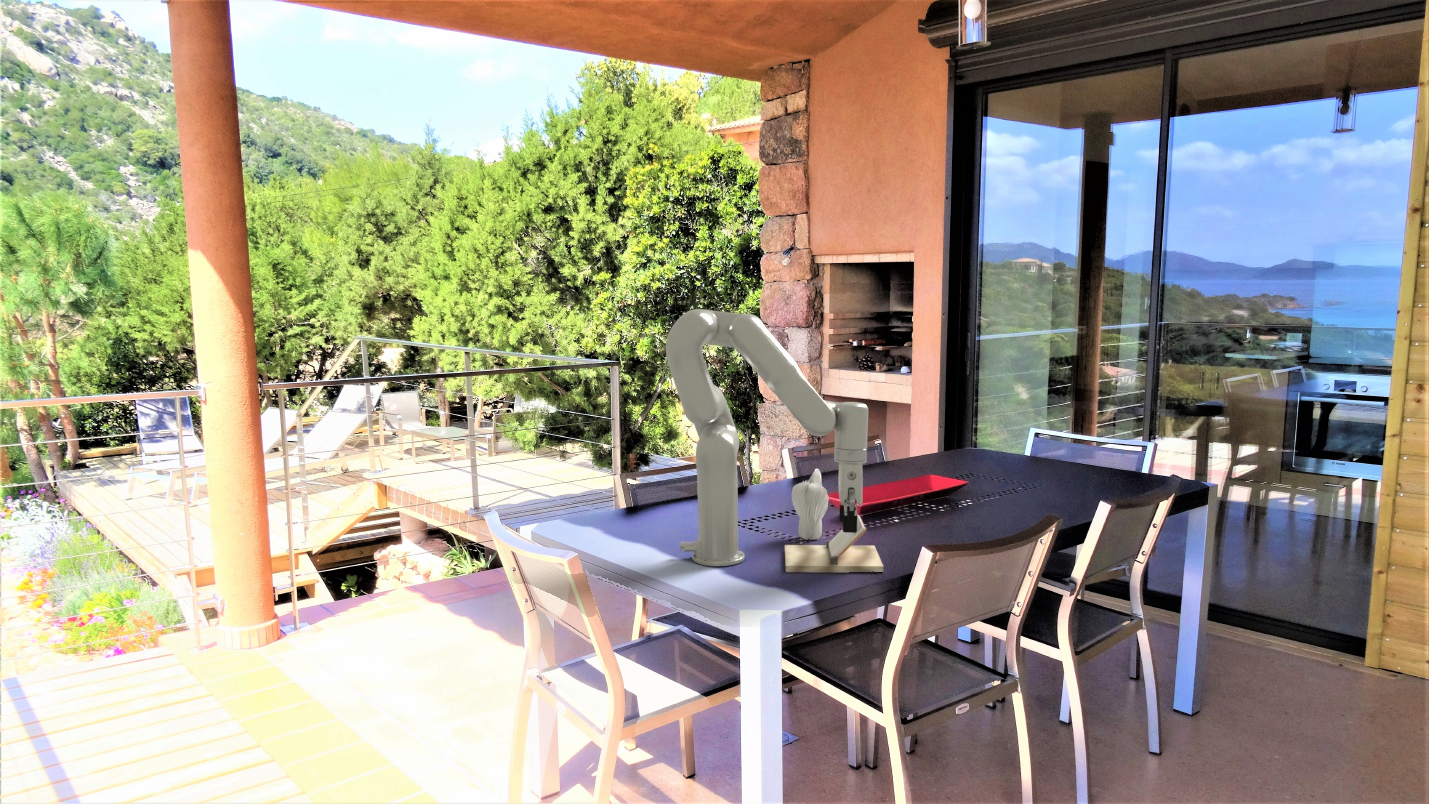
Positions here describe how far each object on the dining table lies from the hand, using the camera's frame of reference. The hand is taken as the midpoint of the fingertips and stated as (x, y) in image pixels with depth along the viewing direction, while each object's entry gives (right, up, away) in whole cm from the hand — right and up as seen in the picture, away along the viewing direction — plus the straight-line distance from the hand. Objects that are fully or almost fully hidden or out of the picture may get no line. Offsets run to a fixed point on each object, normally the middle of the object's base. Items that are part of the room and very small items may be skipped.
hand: (847, 526), depth 203 cm
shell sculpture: (-6, -6, +21) cm, 23 cm away
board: (-4, -8, +1) cm, 9 cm away
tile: (-1, -2, 0) cm, 2 cm away
